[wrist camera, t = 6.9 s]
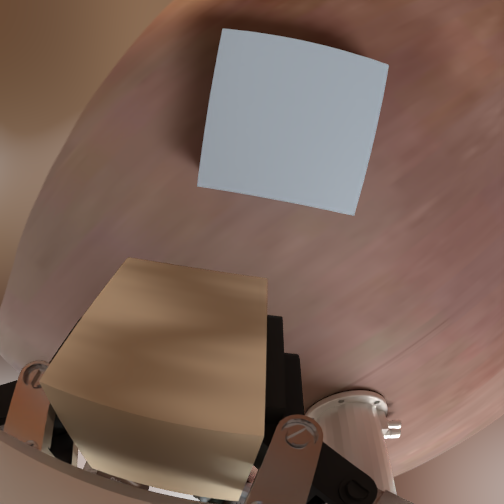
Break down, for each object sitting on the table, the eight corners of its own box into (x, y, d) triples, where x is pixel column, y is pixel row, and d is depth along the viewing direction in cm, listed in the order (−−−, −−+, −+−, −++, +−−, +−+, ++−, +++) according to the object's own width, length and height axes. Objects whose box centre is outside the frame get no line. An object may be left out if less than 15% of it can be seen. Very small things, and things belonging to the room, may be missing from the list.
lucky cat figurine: (204, 462, 49) (233, 517, 37) (255, 457, 55) (287, 504, 43) (185, 496, 51) (208, 545, 40) (231, 491, 57) (257, 534, 46)
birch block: (267, 278, 11) (264, 436, 5) (248, 374, 13) (238, 501, 8) (128, 257, 11) (39, 381, 5) (138, 354, 13) (92, 468, 7)
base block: (372, 70, 21) (388, 65, 18) (342, 200, 26) (353, 215, 23) (229, 40, 21) (222, 28, 17) (207, 175, 26) (197, 186, 23)
